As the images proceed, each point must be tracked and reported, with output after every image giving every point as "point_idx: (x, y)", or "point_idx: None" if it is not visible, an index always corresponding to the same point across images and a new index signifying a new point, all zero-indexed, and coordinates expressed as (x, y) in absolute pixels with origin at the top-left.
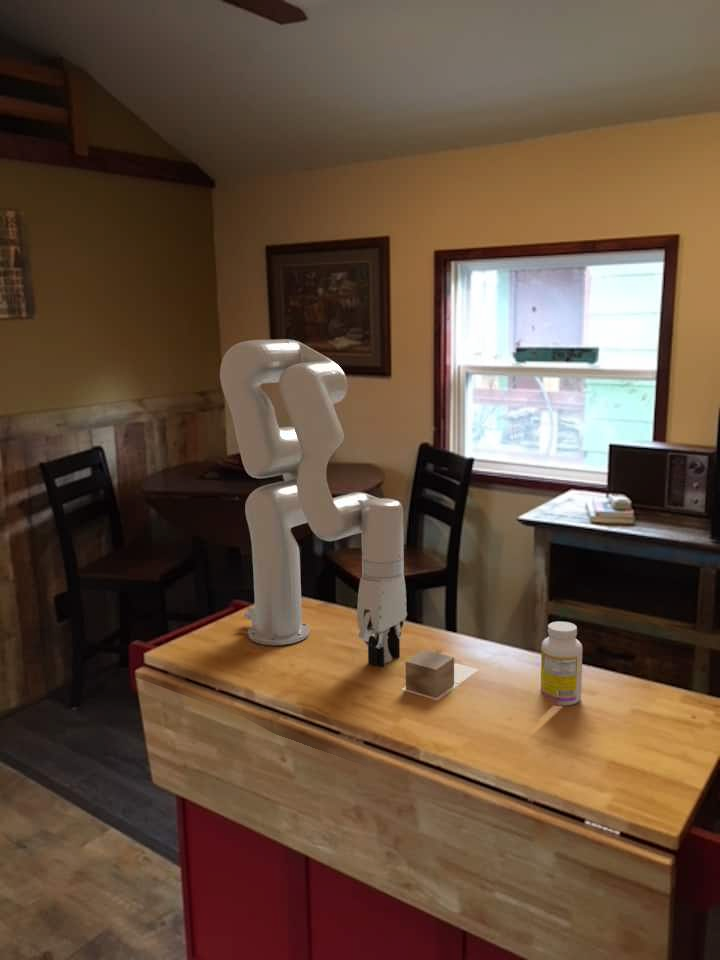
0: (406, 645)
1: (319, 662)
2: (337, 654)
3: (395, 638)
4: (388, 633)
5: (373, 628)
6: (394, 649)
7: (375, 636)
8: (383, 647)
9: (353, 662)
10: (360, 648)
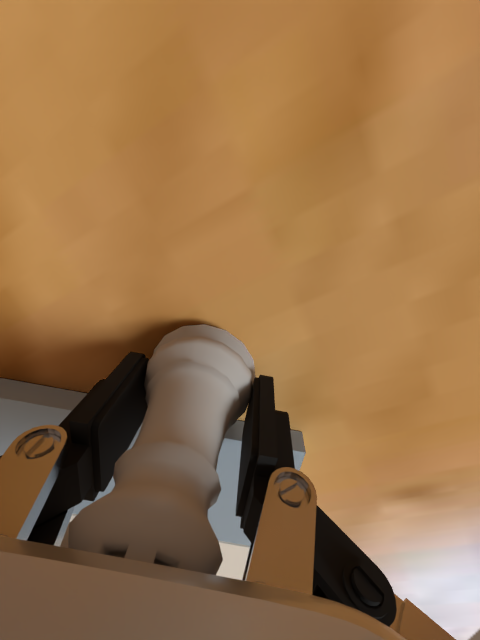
0: (462, 382)
1: (69, 33)
2: (231, 82)
3: (244, 517)
4: (256, 502)
5: (88, 530)
6: (242, 454)
7: (120, 477)
8: (90, 500)
9: (177, 239)
10: (369, 182)
